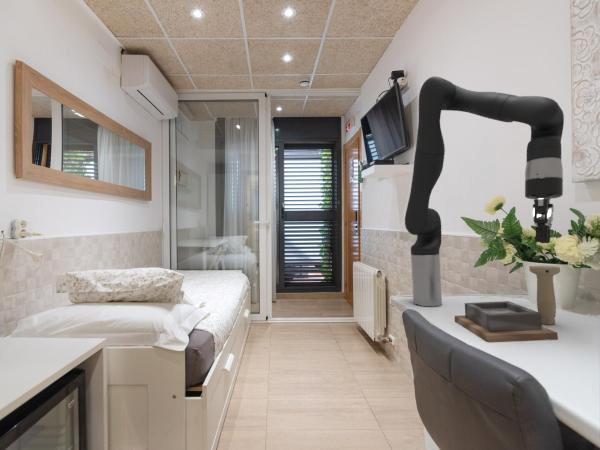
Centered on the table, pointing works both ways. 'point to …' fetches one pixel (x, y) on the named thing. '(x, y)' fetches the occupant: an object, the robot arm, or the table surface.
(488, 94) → the robot arm
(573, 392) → the table surface
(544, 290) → the handle
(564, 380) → the table surface
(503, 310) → the mottled stone tile
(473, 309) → the socket base
